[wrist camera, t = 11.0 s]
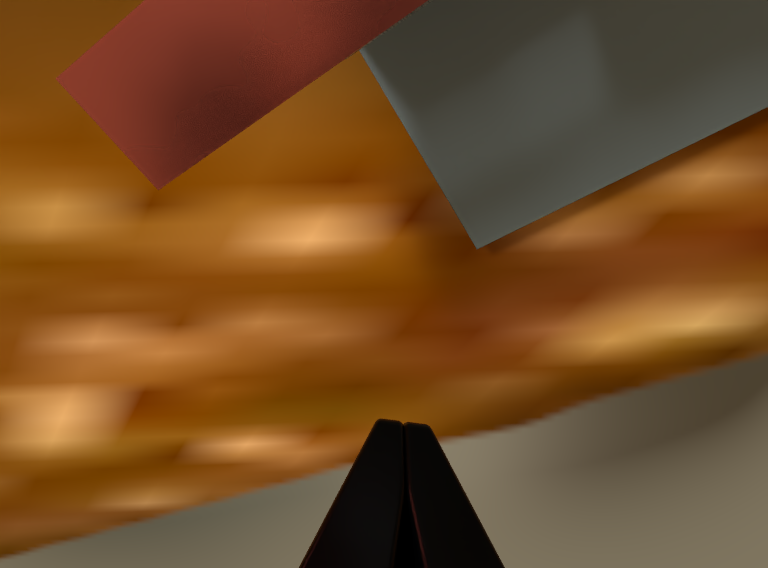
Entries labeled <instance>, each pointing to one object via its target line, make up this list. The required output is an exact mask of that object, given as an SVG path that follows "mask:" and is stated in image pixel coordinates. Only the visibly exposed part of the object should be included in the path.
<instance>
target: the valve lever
mask: <svg viewBox="0 0 768 568" xmlns="http://www.w3.org/2000/svg"><path fill="white" fill-rule="evenodd" d="M427 1H428V0H144V1H143V2H142V3H141V4H140V5H139V6H138V7H137V8H135V9H134V10H133V11H132V12H131V13H130V14H129V15H127V16H126V17H125V18H124V19H123V20H122V21H121V22H120V23H118V24H117V25H116V26H115V27H114V28H113V29H112V30H110V31H109V32H108V33H107V34H106V35H105V36H104V37H102V38H101V39H100V40H99V41H98V42H97V43H96V44H95V45H93V46H92V47H91V48H90V49H89V50H88V51H87V52H85V53H84V54H83V55H82V56H81V57H80V58H79V59H78V60H76V61H75V62H74V63H73V64H72V65H71V66H70V67H68V68H67V69H66V70H65V71H64V72H63V73H62V74H60V75H59V76H58V77H57V78H56V80H57V81H58V82H59V83H60V84H61V85H62V86H63V87H64V88H65V89H66V90H67V92H68V93H69V94H70V95H71V96H72V97H73V98H74V99H75V100H76V101H77V102H78V103H79V105H80V106H81V107H82V108H83V109H84V110H85V111H86V112H87V113H88V114H89V115H90V117H91V118H92V119H93V120H94V121H95V122H96V123H97V124H98V125H99V126H100V127H101V128H102V130H103V131H104V132H105V133H106V134H107V135H108V136H109V137H110V138H111V139H112V140H113V141H114V143H115V144H116V145H117V146H118V147H119V148H120V149H121V150H122V151H123V152H124V153H125V155H126V156H127V157H128V158H129V159H130V160H131V161H132V162H133V163H134V164H135V165H136V166H137V168H138V169H139V170H140V171H141V172H142V173H143V174H144V175H145V176H146V177H147V178H148V179H149V181H150V182H151V183H152V184H153V185H154V186H155V187H156V188H157V189H158V190H159V189H161V188H162V187H163V186H165V185H166V184H168V183H169V182H170V181H172V180H173V179H175V178H176V177H178V176H179V175H180V174H182V173H183V172H185V171H186V170H188V169H189V168H190V167H192V166H193V165H195V164H196V163H198V162H199V161H200V160H202V159H203V158H205V157H206V156H207V155H209V154H210V153H212V152H213V151H215V150H216V149H217V148H219V147H220V146H222V145H223V144H225V143H226V142H227V141H229V140H230V139H232V138H233V137H234V136H236V135H237V134H239V133H240V132H242V131H243V130H244V129H246V128H247V127H249V126H250V125H252V124H253V123H254V122H256V121H257V120H259V119H260V118H262V117H263V116H264V115H266V114H267V113H269V112H270V111H271V110H273V109H274V108H276V107H277V106H279V105H280V104H281V103H283V102H284V101H286V100H287V99H289V98H290V97H291V96H293V95H294V94H296V93H297V92H298V91H300V90H301V89H303V88H304V87H306V86H307V85H308V84H310V83H311V82H313V81H314V80H316V79H317V78H318V77H320V76H321V75H323V74H324V73H326V72H327V71H328V70H330V69H331V68H333V67H334V66H335V65H337V64H338V63H340V62H341V61H343V60H344V59H345V58H347V57H348V56H350V55H351V54H353V53H354V52H355V51H357V50H358V49H360V48H361V47H363V46H364V45H365V44H367V43H368V42H370V41H371V40H372V39H374V38H375V37H377V36H378V35H380V34H381V33H382V32H384V31H385V30H387V29H388V28H390V27H391V26H392V25H394V24H395V23H397V22H398V21H399V20H401V19H402V18H404V17H405V16H407V15H408V14H409V13H411V12H412V11H414V10H415V9H417V8H418V7H419V6H421V5H422V4H424V3H425V2H427Z"/></svg>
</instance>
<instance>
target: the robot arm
mask: <svg viewBox="0 0 768 568" xmlns="http://www.w3.org/2000/svg"><path fill="white" fill-rule="evenodd" d="M299 568H505V567H504V565H503V564H502V562H501V560H500V558H499V556H498V554H497V552H496V551H495V548H494V547H493V545H492V543H491V541H490V539H489V537H488V535H487V533H486V531H485V529H484V528H483V526H482V524H481V522H480V520H479V518H478V516H477V514H476V512H475V510H474V509H473V507H472V505H471V503H470V501H469V499H468V497H467V495H466V493H465V492H464V490H463V488H462V486H461V484H460V482H459V480H458V478H457V476H456V474H455V473H454V471H453V469H452V467H451V465H450V463H449V461H448V459H447V458H446V456H445V453H444V452H443V450H442V448H441V446H440V444H439V442H438V440H437V438H436V436H435V434H434V433H433V431H432V429H431V428H430V426H428V425H426V424H419V423H412V422H406V423H404V424H402V423H401V422H400V421H396V420H388V419H378V420H377V421H376V422H375V424H374V426H373V428H372V430H371V431H370V433H369V435H368V437H367V439H366V441H365V443H364V445H363V447H362V449H361V450H360V452H359V454H358V456H357V458H356V460H355V462H354V464H353V466H352V468H351V469H350V471H349V473H348V475H347V477H346V479H345V481H344V483H343V485H342V487H341V489H340V491H339V492H338V494H337V496H336V498H335V500H334V502H333V504H332V506H331V508H330V509H329V511H328V513H327V515H326V517H325V519H324V521H323V523H322V525H321V527H320V528H319V530H318V532H317V535H316V536H315V538H314V540H313V542H312V544H311V546H310V547H309V549H308V551H307V553H306V555H305V557H304V559H303V561H302V563H301V565H300V566H299Z"/></svg>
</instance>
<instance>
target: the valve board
mask: <svg viewBox="0 0 768 568" xmlns="http://www.w3.org/2000/svg"><path fill="white" fill-rule="evenodd" d="M359 51H360V52H361V54H362V56H363V57H364V59H365V61H366V62H367V64H368V66H369V67H370V69H371V71H372V72H373V74H374V76H375V78H376V79H377V81H378V83H379V84H380V86H381V88H382V89H383V91H384V93H385V94H386V96H387V98H388V100H389V101H390V103H391V105H392V106H393V108H394V110H395V111H396V113H397V115H398V116H399V118H400V120H401V122H402V123H403V125H404V127H405V128H406V130H407V132H408V133H409V135H410V137H411V138H412V140H413V142H414V144H415V145H416V147H417V149H418V150H419V152H420V154H421V155H422V157H423V159H424V160H425V162H426V164H427V166H428V167H429V169H430V171H431V172H432V174H433V176H434V177H435V179H436V181H437V182H438V184H439V186H440V188H441V189H442V191H443V193H444V194H445V196H446V198H447V199H448V201H449V203H450V204H451V206H452V208H453V209H454V211H455V213H456V215H457V216H458V218H459V220H460V221H461V223H462V225H463V226H464V228H465V230H466V231H467V233H468V235H469V237H470V238H471V240H472V242H473V243H474V245H475V247H476V248H477V249H479V248H481V247H483V246H485V245H487V244H489V243H491V242H493V241H495V240H497V239H499V238H501V237H503V236H505V235H507V234H509V233H511V232H513V231H515V230H517V229H519V228H521V227H524V226H526V225H528V224H530V223H532V222H534V221H536V220H538V219H540V218H542V217H544V216H546V215H548V214H550V213H552V212H554V211H556V210H558V209H560V208H562V207H564V206H566V205H568V204H571V203H573V202H575V201H577V200H579V199H581V198H583V197H585V196H587V195H589V194H591V193H593V192H595V191H597V190H599V189H601V188H603V187H605V186H607V185H609V184H611V183H613V182H615V181H617V180H620V179H622V178H624V177H626V176H628V175H630V174H632V173H634V172H636V171H638V170H640V169H642V168H644V167H646V166H648V165H650V164H652V163H654V162H656V161H658V160H660V159H662V158H664V157H666V156H669V155H671V154H673V153H675V152H677V151H679V150H681V149H683V148H685V147H687V146H689V145H691V144H693V143H695V142H697V141H699V140H701V139H703V138H705V137H707V136H709V135H711V134H713V133H715V132H718V131H720V130H722V129H724V128H726V127H728V126H730V125H732V124H734V123H736V122H738V121H740V120H742V119H744V118H746V117H748V116H750V115H752V114H754V113H756V112H758V111H760V110H762V109H765V108H767V107H768V0H433V1H431V2H430V3H428V4H427V5H425V6H424V7H422V8H421V9H419V10H418V11H417V12H415V13H414V14H412V15H411V16H409V17H408V18H406V19H405V20H403V21H402V22H400V23H399V24H397V25H396V26H394V27H393V28H391V29H390V30H388V31H387V32H385V33H384V34H382V35H381V36H379V37H378V38H377V39H375V40H374V41H372V42H371V43H369V44H368V45H366V46H365V47H363V48H362V49H360V50H359Z"/></svg>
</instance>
